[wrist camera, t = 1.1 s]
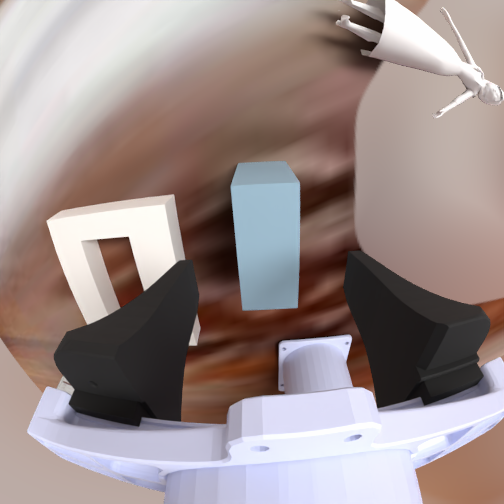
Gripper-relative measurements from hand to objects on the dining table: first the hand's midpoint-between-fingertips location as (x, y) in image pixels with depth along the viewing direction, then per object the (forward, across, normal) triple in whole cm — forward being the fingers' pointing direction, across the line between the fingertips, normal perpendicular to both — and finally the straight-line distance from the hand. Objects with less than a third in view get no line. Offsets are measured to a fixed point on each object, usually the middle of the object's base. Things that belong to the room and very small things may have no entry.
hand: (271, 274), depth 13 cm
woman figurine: (+11, -15, -13) cm, 23 cm away
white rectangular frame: (+10, +13, +6) cm, 17 cm away
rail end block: (+10, 0, +1) cm, 10 cm away
